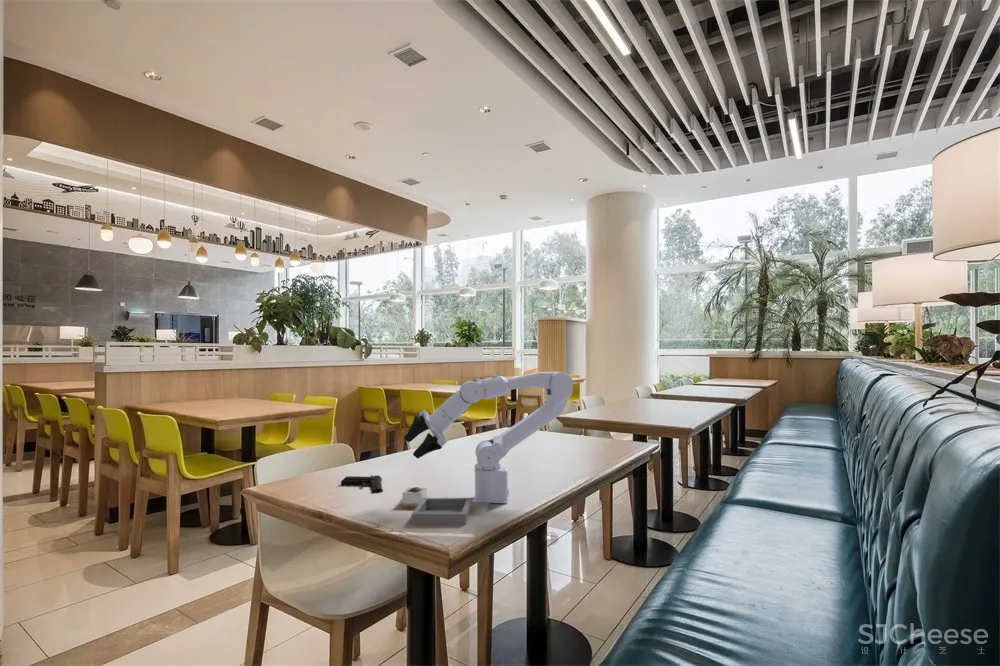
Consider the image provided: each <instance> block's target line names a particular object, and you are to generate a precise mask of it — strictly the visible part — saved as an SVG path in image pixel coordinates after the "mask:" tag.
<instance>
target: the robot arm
mask: <svg viewBox="0 0 1000 666" xmlns="http://www.w3.org/2000/svg"><path fill="white" fill-rule="evenodd" d="M475 380H476V381H472V380H469V381H468V380H467V381H466V382H464V383H462V384H461V386H460V389H458V390H457V391H456V392H454V394H452V395H451V396H449V397H448V398H447V399H446V400H445V401H444V402H443V403H442V404H441V405H440V406H439V407H437V409H436V410H435V411H433V413H431V414H429V412H427V411H426V410H425V409H423V410H422V411H421V412H419V415H417V414H416V415H414V418H413V420H412V423H411V425H410V427H409V429H408V430H407V432H406V434H405V435H404V437H403V440H405V441H406V442H407V443H410V442H411V441H413V440H415V439H416V438H417V437H418V436H419V435H420V434H422V433H424V432H426V431H428V430H430V432H431V433H430V432H428V433H427V434H426V436H425V438H424V440H423V441H422V442H421V444H420V445H419V446H418V447H417V448H416V449H415V450H414V451H413V453H412V455H413V456H414V457H415V458H416V459H420V458H422V457H423V456H425V455H427V454H429V453H431V452H435V451H437V450H441V449H443V446H444V445H446V444H447V443H448V441H447V439H446V437H445V435H444V432H445V430H447V428H449V427H450V426H452V424H453V423H454V422H455V421H456V420H458V418H459V417H460V416H462V415H463V413H465V412H466V410H467V409H468V408H469V407H470V406H471V405H472V403H473V404H475V403H478V402H479V401H480V400H481V399H483V400H489V399H492V398H493V399H495V398H500V397H504V396H506V395H507V394H508V392H509V391H511V390H516V389H523V388H530V387H531V388H532V387H540V388H542V389H545V390H546V396H545V403H544V404H542V405H541V406H540V407H538V408H537V409H535V410H534V411H533V412H531V413H530V414H528V415H527V416H525V417H524V418H522V419H521V420H520V421H518V422H516V423H514V425H512V426H511V427H509V428H508V429H506V430H505V431H504V432H502V433H501V434H498V435H496V436H493V437H492V438H490V439H487V440H486V439H485V440H482V441H480V442H479V443H478V444H477V445H476V447H475V456H476V461H477V462H476V464H475V465H474V489H475V490H474V496H473V498H472V503H475V502H476V503H489V504H507V503H508V501H509V500H508V499H509V495H510V488H509V474H508V473H509V471H508V467H505V466H504V467H503V466H501V464H500V461H501V460H502V459H503V458H504V457H506V455H507V454H508V453H509V452H510V450H512V448H514V447H516V446H517V445H519V444H521V443H522V442H523V441H525V440H526V439H527V438H529V437H530V436H531V435H533V434H535V433H536V432H537V431H539V430H541V429H542V428H544V427H545V426H546V425H548V424H549V423H551V422H552V421H554V420H555V419H556V418H558V417H560V416H561V415H562V414H563V413H564V410H565V409H566V406H567V404H568V402H569V399H570V397H571V396H572V395H573V392H574V381H573V378H572V377H571V376H570V374H568V373H566V372H563V371H562V372H561V371H559V370H557V371H556V370H553V371H541V372H539V371H538V372H532V373H529V374H525V375H524V374H523V375H520V376H516V377H511V378H506V377H505V376H502V375H498V374H496V373H495V374H493V375H492V377H486V378H482V379H481V378H479V377H478V378H476V379H475Z"/></svg>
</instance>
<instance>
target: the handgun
mask: <svg viewBox="0 0 1000 666" xmlns="http://www.w3.org/2000/svg"><path fill="white" fill-rule="evenodd" d="M382 481H383V478H382V477H381V475H373V474H371V475H370V476H358V475H357V476H351V475H349V476H348V475H347V476H345V477H344V478H343V479H342V480H341V481H340V485H341V486H360V485H363V486H362V487H363V488H367V487H371V489H370V490H371V492H372V494H378V493H383V492H384V489H383V486H382ZM342 484H343V485H342Z"/></svg>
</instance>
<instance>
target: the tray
mask: <svg viewBox="0 0 1000 666" xmlns="http://www.w3.org/2000/svg"><path fill="white" fill-rule="evenodd" d="M472 501H473V498H472V497H427V498H423V499H422V500H421V501H420V503H419V504H418V506H417V507H416V509H415V510H412V513H411V525H431V526H432V525H435V526H436V525H437V526H438V525H443V526H444V525H447V526H449V525H454V526H457V525H460V526H461V525H463V526H466V525H467V522H468V520H469V517H470V515H471V511H472V510H473V509H472V508H473V502H472ZM427 508H428V510H427ZM429 508H431V510H429Z"/></svg>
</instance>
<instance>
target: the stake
mask: <svg viewBox="0 0 1000 666" xmlns="http://www.w3.org/2000/svg"><path fill="white" fill-rule="evenodd" d="M411 488H412V492H420V488H421V487H420V486H419V487H417V486H415V487H411ZM415 509H416V507H403V497H402V498H401V500H400V501H399V502H398V503H397V504H396V506H394V507H393V509H392V511H414V510H415ZM427 510H428V508H427ZM429 510H431V508H429Z"/></svg>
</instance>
